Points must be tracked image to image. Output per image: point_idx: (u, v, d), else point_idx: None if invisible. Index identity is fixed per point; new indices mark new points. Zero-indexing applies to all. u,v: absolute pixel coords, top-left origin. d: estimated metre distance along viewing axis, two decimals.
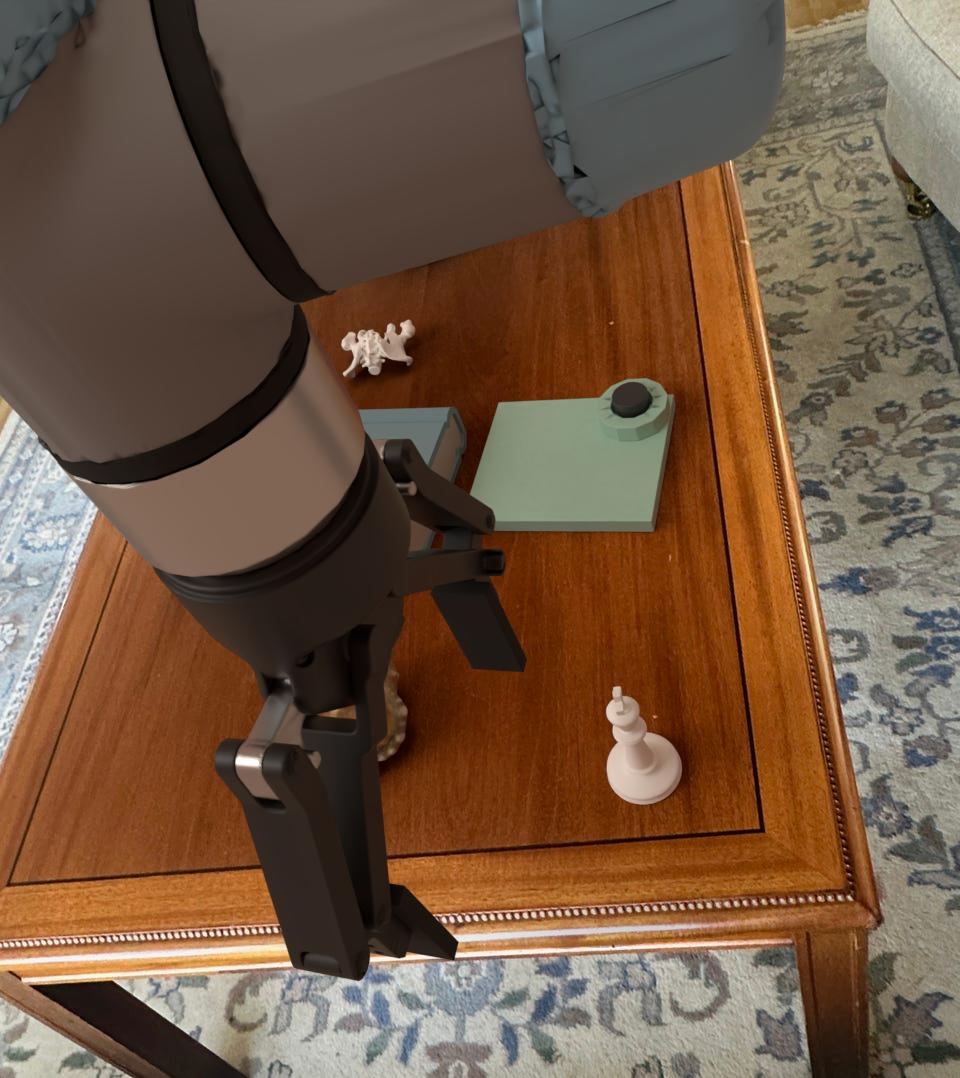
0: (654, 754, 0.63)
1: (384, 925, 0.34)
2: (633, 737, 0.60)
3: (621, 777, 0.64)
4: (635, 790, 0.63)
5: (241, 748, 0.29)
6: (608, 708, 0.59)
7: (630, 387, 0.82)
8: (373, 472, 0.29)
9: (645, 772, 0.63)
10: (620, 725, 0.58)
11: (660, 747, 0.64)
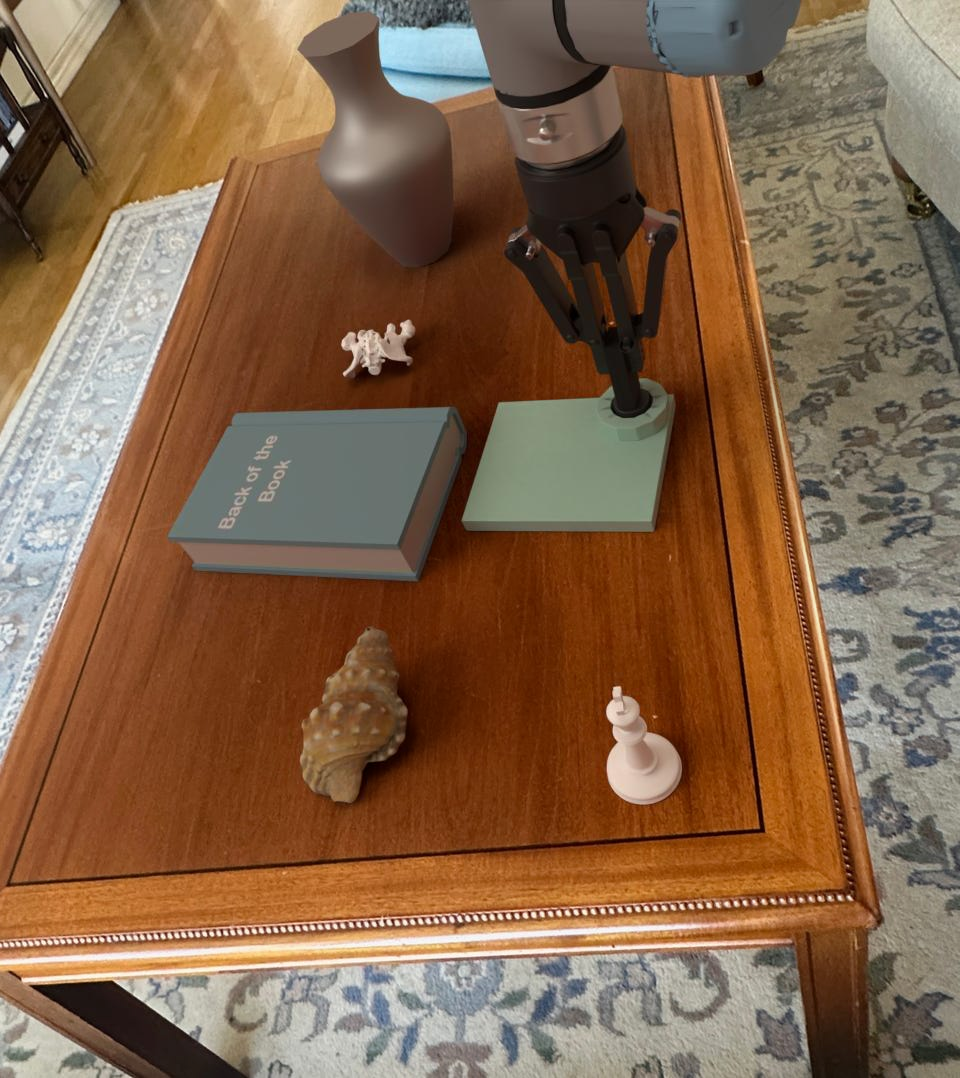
0: (654, 754, 0.63)
1: None
2: (633, 737, 0.60)
3: (621, 777, 0.64)
4: (635, 790, 0.63)
5: (672, 223, 0.67)
6: (608, 708, 0.59)
7: None
8: None
9: (645, 772, 0.63)
10: (620, 725, 0.58)
11: (660, 747, 0.64)
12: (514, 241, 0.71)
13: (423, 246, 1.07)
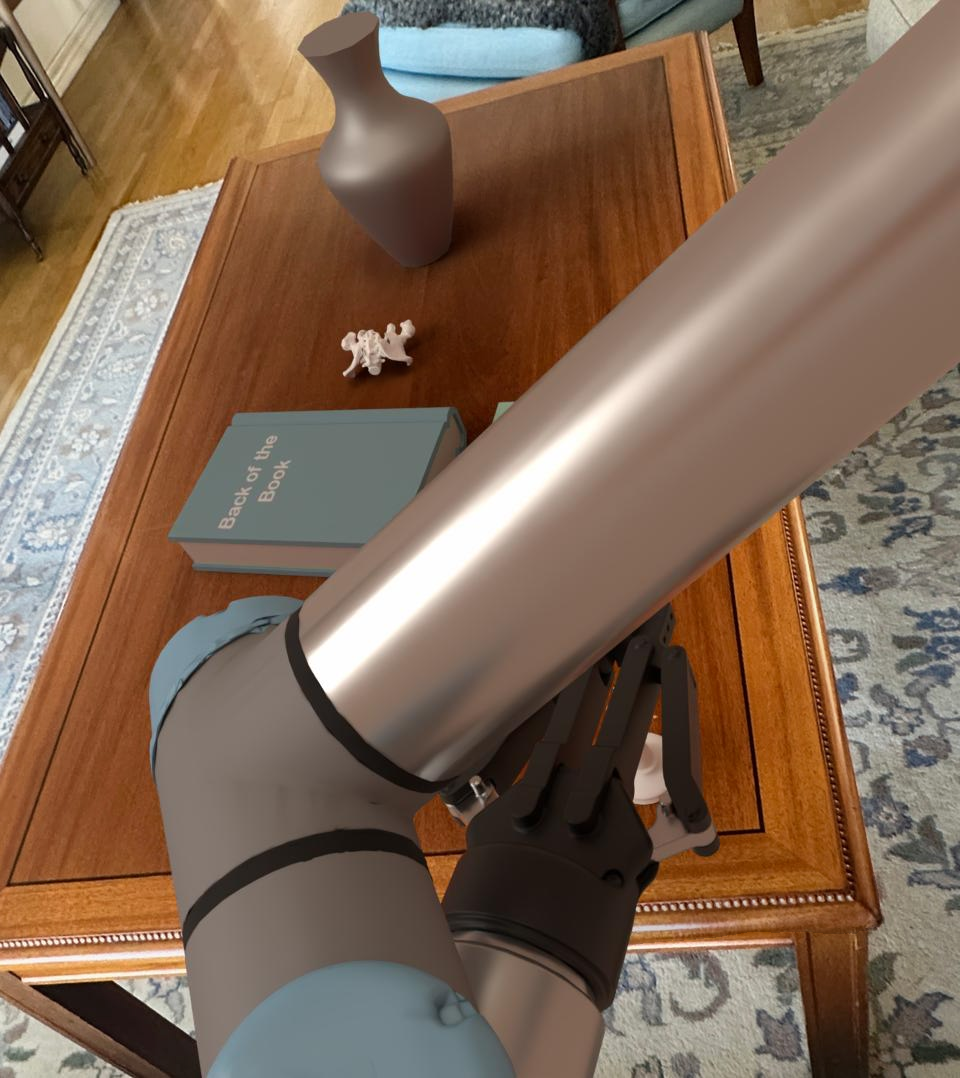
0: (654, 754, 0.63)
1: (643, 637, 0.47)
2: None
3: None
4: (635, 790, 0.63)
5: (706, 844, 0.40)
6: None
7: None
8: (466, 915, 0.37)
9: (645, 772, 0.63)
10: None
11: (660, 747, 0.64)
12: (461, 818, 0.45)
13: (423, 246, 1.07)
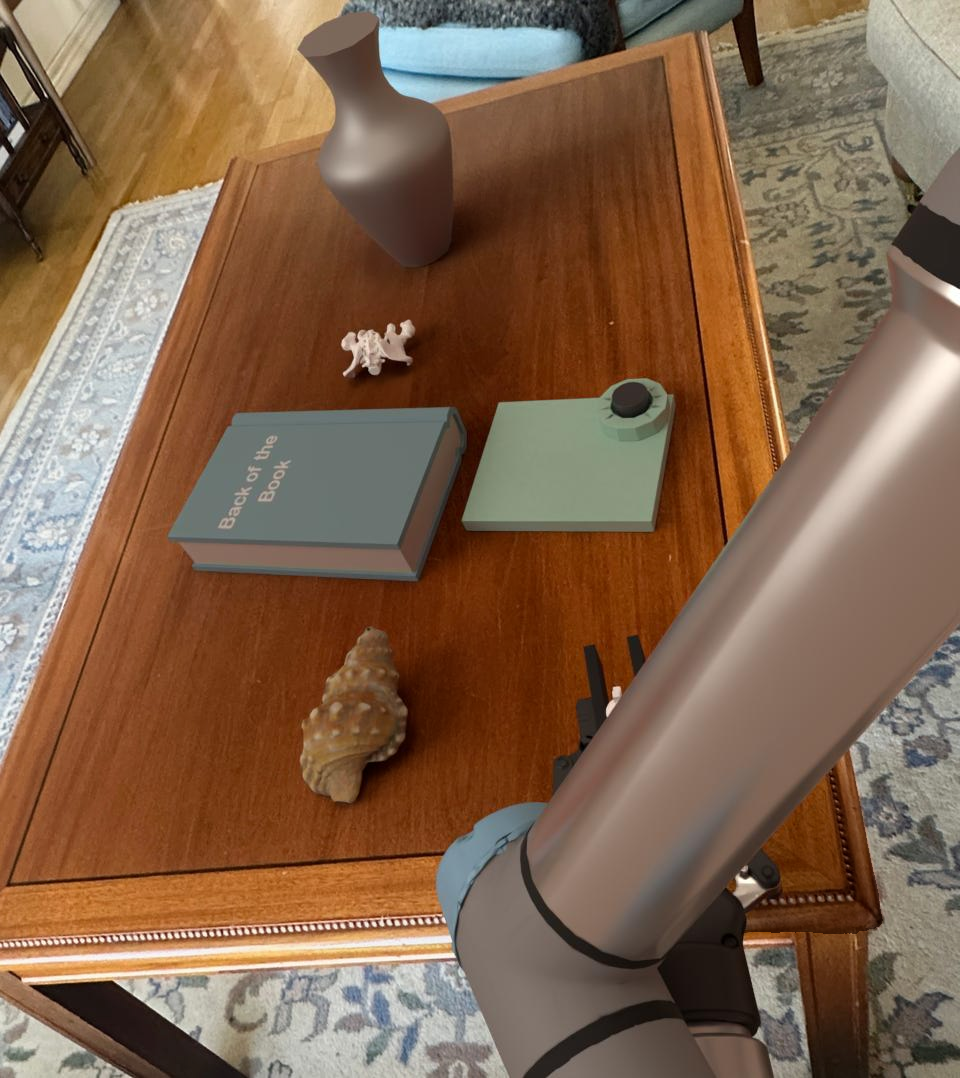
0: None
1: None
2: None
3: None
4: None
5: (776, 892, 0.52)
6: (608, 708, 0.59)
7: (630, 387, 0.82)
8: None
9: None
10: None
11: None
12: None
13: (423, 246, 1.07)
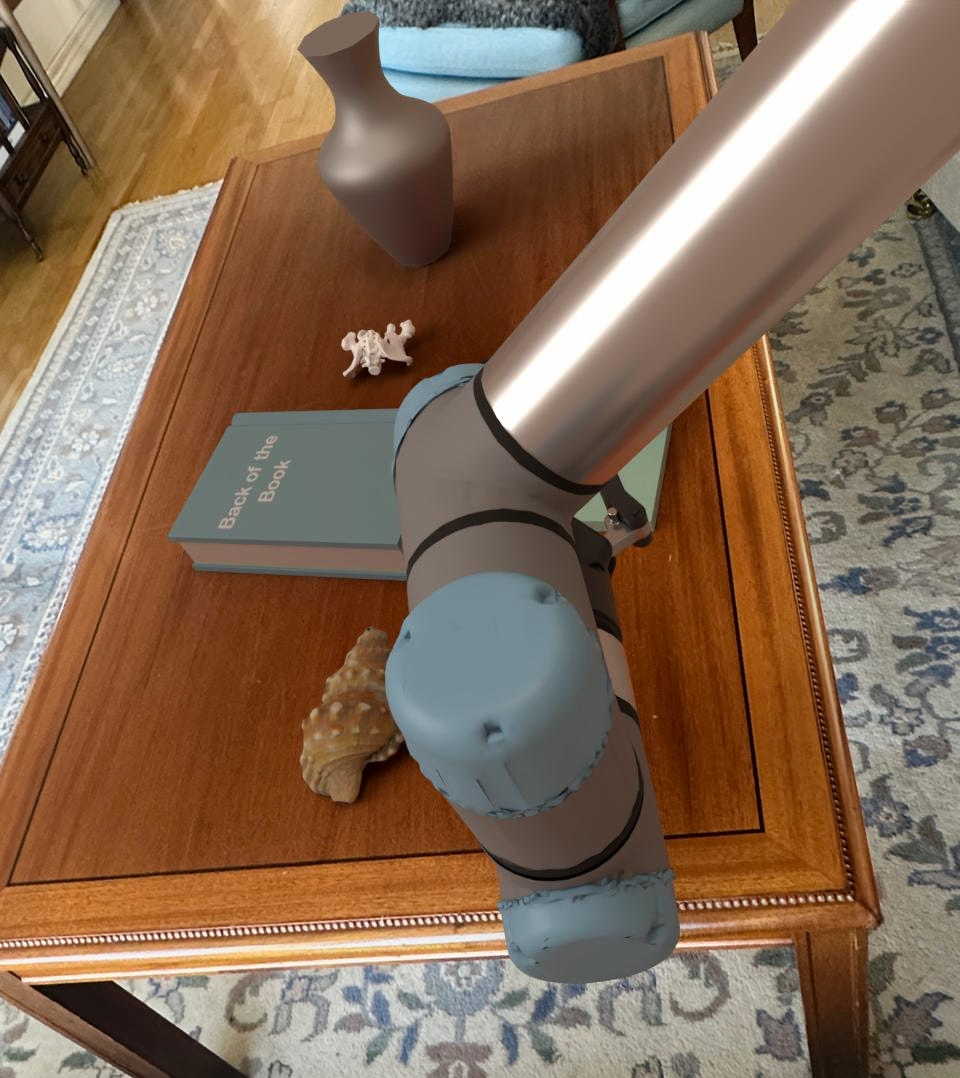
0: None
1: None
2: None
3: None
4: None
5: (645, 536, 0.54)
6: None
7: None
8: None
9: None
10: None
11: None
12: None
13: (423, 246, 1.07)
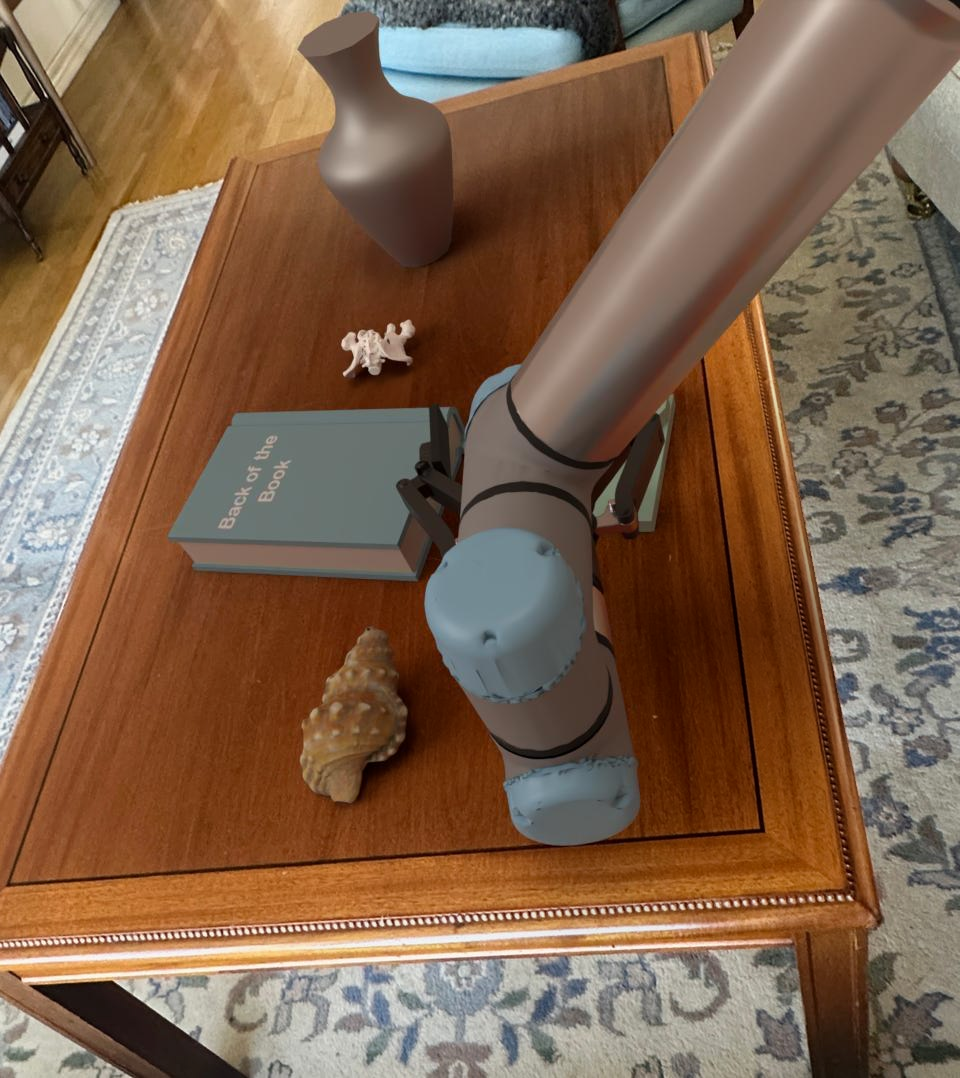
0: None
1: None
2: None
3: None
4: None
5: (628, 532, 0.67)
6: None
7: None
8: None
9: None
10: None
11: None
12: None
13: (423, 246, 1.07)
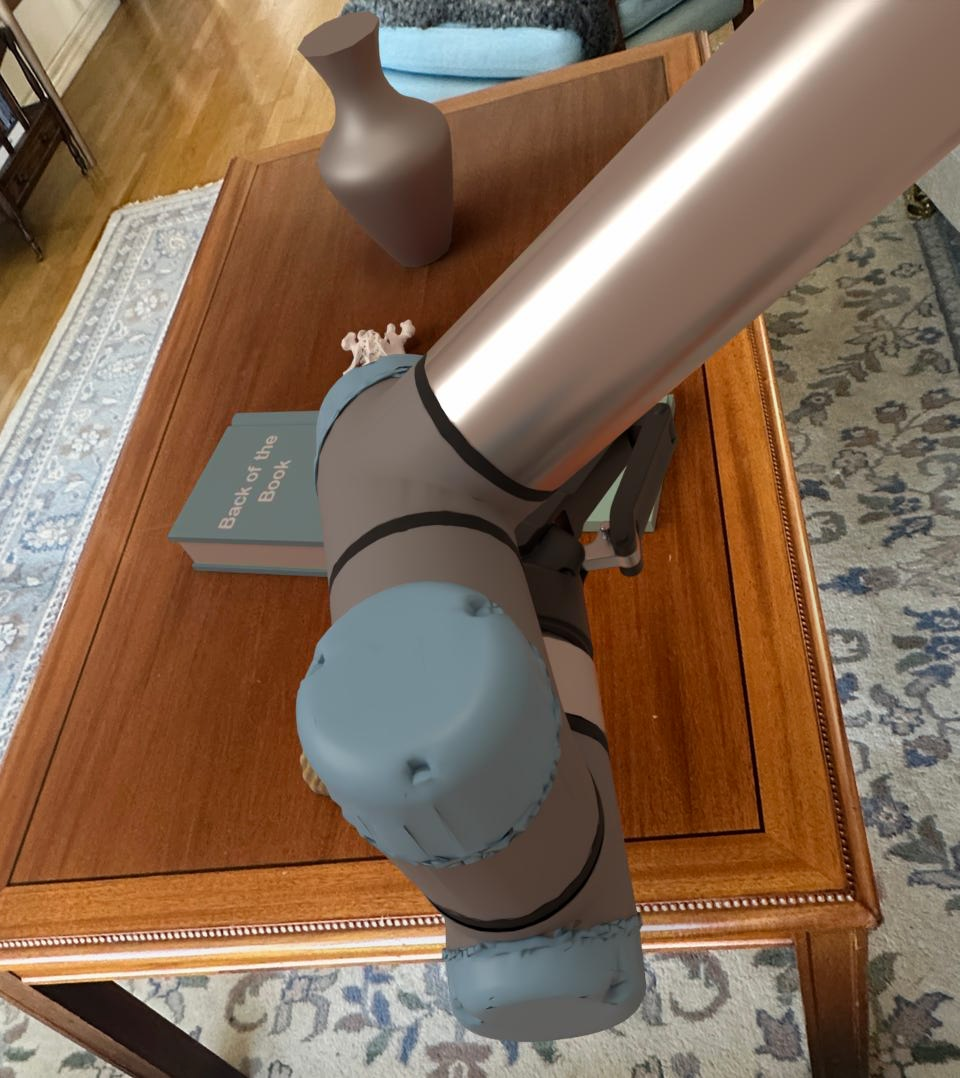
0: None
1: None
2: None
3: None
4: None
5: (628, 566, 0.48)
6: None
7: None
8: None
9: None
10: None
11: None
12: None
13: (423, 246, 1.07)
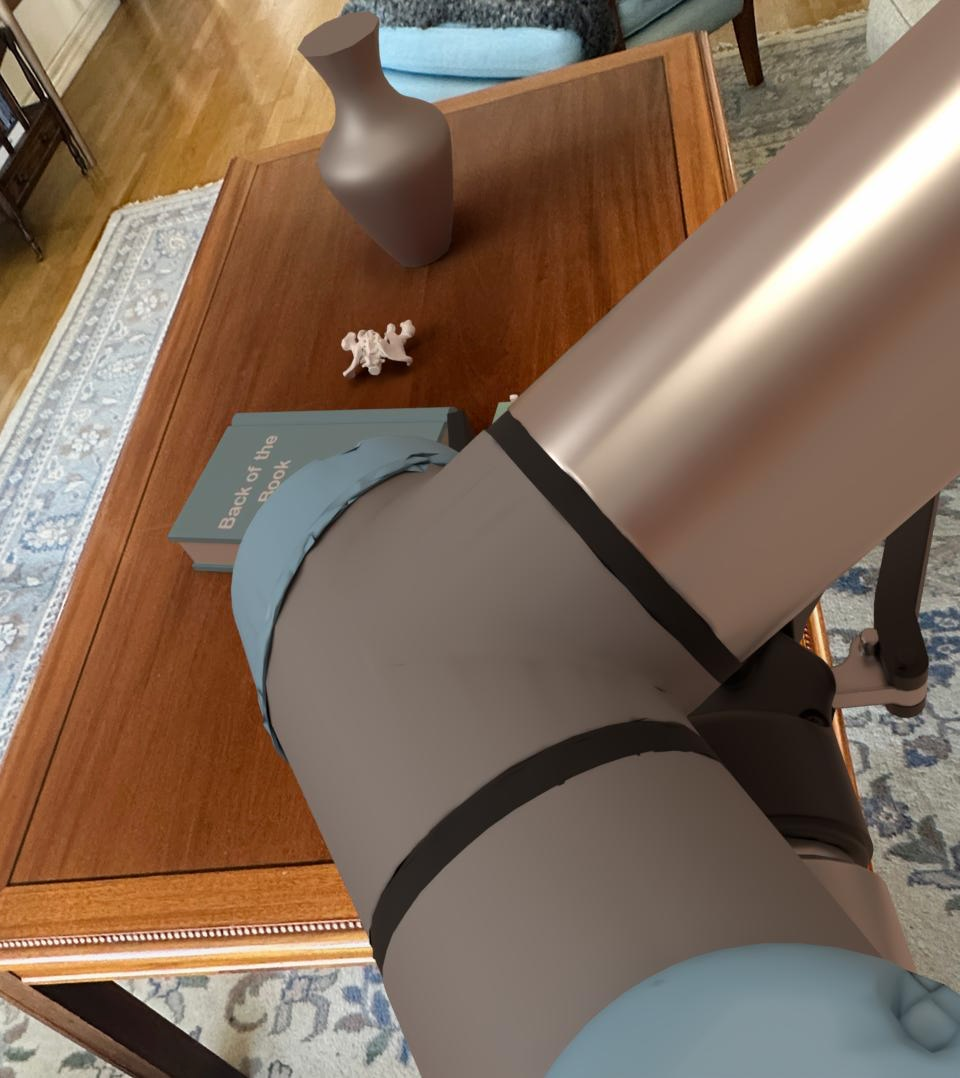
0: None
1: None
2: None
3: None
4: None
5: (908, 704, 0.29)
6: None
7: None
8: None
9: None
10: None
11: None
12: None
13: (423, 246, 1.07)
